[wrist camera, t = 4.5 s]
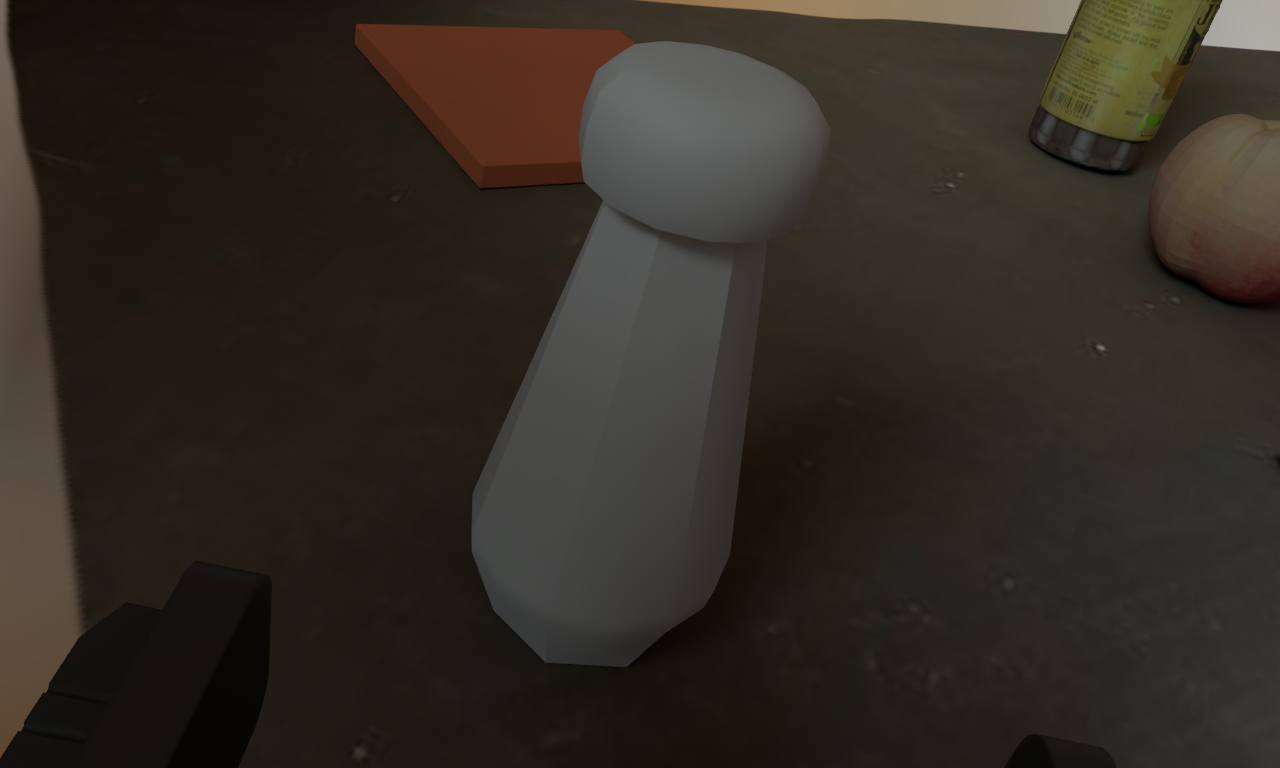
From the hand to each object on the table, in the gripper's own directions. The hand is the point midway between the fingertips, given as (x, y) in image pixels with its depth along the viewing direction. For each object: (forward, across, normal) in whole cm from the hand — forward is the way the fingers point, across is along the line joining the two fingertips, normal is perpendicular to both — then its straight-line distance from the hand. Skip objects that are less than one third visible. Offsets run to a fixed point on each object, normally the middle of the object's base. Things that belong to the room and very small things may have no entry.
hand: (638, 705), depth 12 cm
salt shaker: (+11, 0, +10) cm, 15 cm away
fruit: (+37, -25, +10) cm, 46 cm away
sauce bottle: (+51, -23, +10) cm, 57 cm away
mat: (+40, +5, +10) cm, 42 cm away
